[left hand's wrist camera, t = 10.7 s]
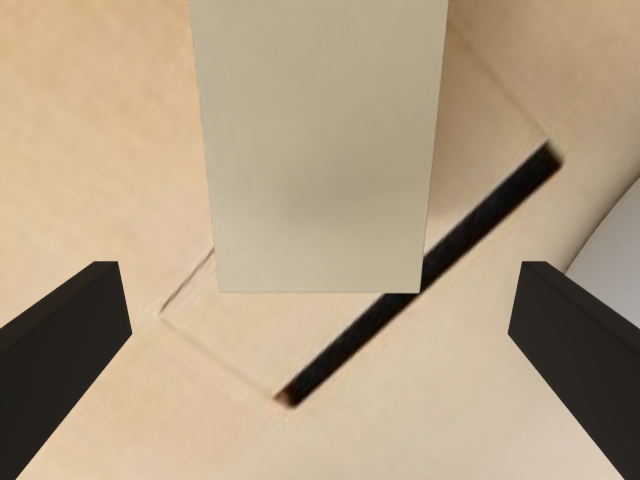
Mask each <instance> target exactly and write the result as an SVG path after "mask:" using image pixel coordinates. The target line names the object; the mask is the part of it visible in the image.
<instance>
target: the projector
mask: <svg viewBox="0 0 640 480" xmlns="http://www.w3.org/2000/svg"><path fill="white" fill-rule="evenodd" d="M565 275H566V276H567V277H568V278H570V279H571V280H573V281H574V282H575V283H577V284H578V285H580V286H581V287H582V288H584V289H585V290H587V291H588V292H589V293H591V294H592V295H593V296H595V297H596V298H598V299H599V300H600V301H602V302H603V303H605V304H606V305H607V306H609V307H610V308H612V309H613V310H614V311H616V312H617V313H619V314H620V315H621V316H623V317H624V318H626V319H627V320H628V321H630V322H631V323H633V324H634V325H635V326H637V327H638V328H640V178H639V179H638V180H637V181H636V182H635V183H634V184H633V185H632V186H631V187H630V189H629V190H628V191H627V192H626V193H625V194H624V196H623V197H622V198H621V199H620V200H619V201H618V203H617V204H616V205H615V206H614V207H613V208H612V210H611V211H610V212H609V214H608V215H607V216H606V217H605V219H604V220H603V221H602V222H601V224H600V225H599V226H598V227H597V229H596V230H595V231H594V233H593V234H592V236H591V237H590V238H589V240H588V241H587V242H586V244H585V245H584V246H583V248H582V249H581V251H580V252H579V254H578V255H577V257H576V258H575V260H574V261H573V262H572V264H571V265H570V267H569V269H568V270H567V272H566V273H565Z"/></svg>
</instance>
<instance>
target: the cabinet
mask: <svg viewBox="0 0 640 480" xmlns="http://www.w3.org/2000/svg"><path fill="white" fill-rule="evenodd" d="M189 6H190V16H191V26H192V35H193V45H194V55H195V64H196V74H197V84H198V93H199V103H200V112H201V122H202V132H203V141H204V151H205V161H206V170H207V180H208V189H209V199H210V209H211V218H212V228H213V238H214V247H215V257H216V267H217V276H218V286H219V293H419V292H420V282H421V273H422V263H423V253H424V243H425V233H426V223H427V213H428V203H429V194H430V184H431V174H432V164H433V154H434V144H435V134H436V124H437V115H438V105H439V95H440V85H441V75H442V65H443V55H444V45H445V36H446V26H447V16H448V6H449V0H189Z"/></svg>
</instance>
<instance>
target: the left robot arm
mask: <svg viewBox="0 0 640 480" xmlns="http://www.w3.org/2000/svg"><path fill="white" fill-rule="evenodd" d="M131 335H132V329H131V324H130V320H129V315H128V310H127V305H126V300H125V295H124V290H123V285H122V280H121V275H120V270H119V265H118V261H94V262H93V263H91V264H90V265H88V266H87V267H86V268H84V269H83V270H81V271H80V272H79V273H77V274H76V275H74V276H73V277H72V278H70V279H69V280H67V281H66V282H65V283H63V284H62V285H60V286H59V287H58V288H56V289H55V290H53V291H52V292H51V293H49V294H48V295H47V296H45V297H44V298H42V299H41V300H40V301H38V302H37V303H35V304H34V305H33V306H31V307H30V308H28V309H27V310H26V311H24V312H23V313H21V314H20V315H19V316H17V317H16V318H14V319H13V320H12V321H10V322H9V323H7V324H6V325H5V326H3V327H2V328H0V480H16V478H17V477H18V476H19V475H20V473H21V472H22V471H23V470H24V468H25V467H26V466H27V465H28V463H29V462H30V461H31V460H32V458H33V457H34V456H35V455H36V453H37V452H38V451H39V450H40V448H41V447H42V446H43V445H44V443H45V442H46V441H47V440H48V438H49V437H50V436H51V435H52V433H53V432H54V431H55V430H56V428H57V427H58V426H59V425H60V423H61V422H62V421H63V420H64V418H65V417H66V416H67V415H68V413H69V412H70V411H71V410H72V408H73V407H74V406H75V405H76V403H77V402H78V401H79V400H80V398H81V397H82V396H83V395H84V393H85V392H86V391H87V390H88V388H89V387H90V386H91V385H92V383H93V382H94V381H95V380H96V379H97V377H98V376H99V375H100V374H101V372H102V371H103V370H104V369H105V367H106V366H107V365H108V364H109V362H110V361H111V360H112V359H113V357H114V356H115V355H116V354H117V352H118V351H119V350H120V349H121V347H122V346H123V345H124V344H125V342H126V341H127V340H128V339H129V337H130V336H131ZM508 335H509V336H510V337H511V339H512V340H513V341H514V342H515V344H516V345H517V346H518V347H519V349H520V350H521V351H522V352H523V354H524V355H525V356H526V357H527V359H528V360H529V361H530V362H531V364H532V365H533V366H534V367H535V369H536V370H537V371H538V372H539V374H540V375H541V376H542V377H543V379H544V380H545V381H546V382H547V383H548V385H549V386H550V387H551V388H552V390H553V391H554V392H555V393H556V395H557V396H558V397H559V398H560V400H561V401H562V402H563V403H564V405H565V406H566V407H567V408H568V410H569V411H570V412H571V413H572V415H573V416H574V417H575V418H576V420H577V421H578V422H579V423H580V425H581V426H582V427H583V428H584V430H585V431H586V432H587V433H588V435H589V436H590V437H591V438H592V440H593V441H594V442H595V443H596V445H597V446H598V447H599V448H600V450H601V451H602V452H603V453H604V455H605V456H606V457H607V458H608V460H609V461H610V462H611V463H612V465H613V466H614V467H615V468H616V470H617V471H618V472H619V473H620V475H621V476H622V477H623V478H624V480H640V328H638V327H637V326H635V325H634V324H633V323H631V322H630V321H628V320H627V319H626V318H624V317H623V316H621V315H620V314H619V313H617V312H616V311H614V310H613V309H612V308H610V307H609V306H607V305H606V304H605V303H603V302H602V301H600V300H599V299H598V298H596V297H595V296H593V295H592V294H591V293H589V292H588V291H587V290H585V289H584V288H582V287H581V286H580V285H578V284H577V283H575V282H574V281H573V280H571V279H570V278H568V277H567V276H566V275H564V274H563V273H561V272H560V271H559V270H557V269H556V268H554V267H553V266H552V265H550V264H549V263H547V262H546V261H522V265H521V270H520V275H519V280H518V285H517V290H516V295H515V300H514V305H513V310H512V315H511V320H510V324H509V329H508Z"/></svg>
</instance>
